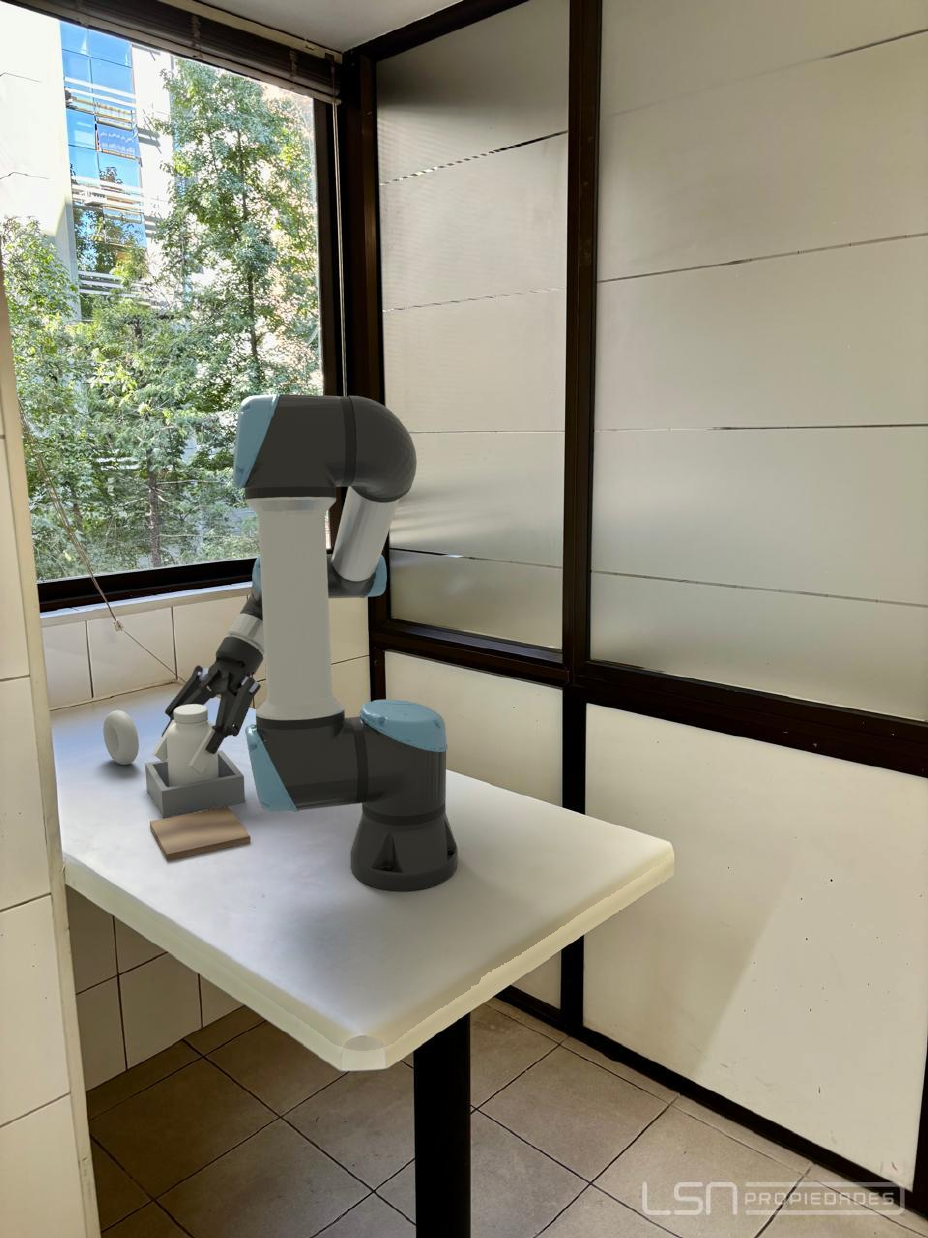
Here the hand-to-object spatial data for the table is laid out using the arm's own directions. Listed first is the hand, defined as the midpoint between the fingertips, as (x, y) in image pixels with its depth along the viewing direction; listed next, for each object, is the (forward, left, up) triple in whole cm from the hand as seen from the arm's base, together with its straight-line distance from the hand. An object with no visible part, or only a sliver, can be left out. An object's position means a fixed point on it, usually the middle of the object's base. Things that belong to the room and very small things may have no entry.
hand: (176, 763), depth 146 cm
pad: (-13, 0, -7) cm, 15 cm away
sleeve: (+2, -3, -7) cm, 7 cm away
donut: (+22, +5, -7) cm, 23 cm away
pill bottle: (+2, -3, -7) cm, 8 cm away
